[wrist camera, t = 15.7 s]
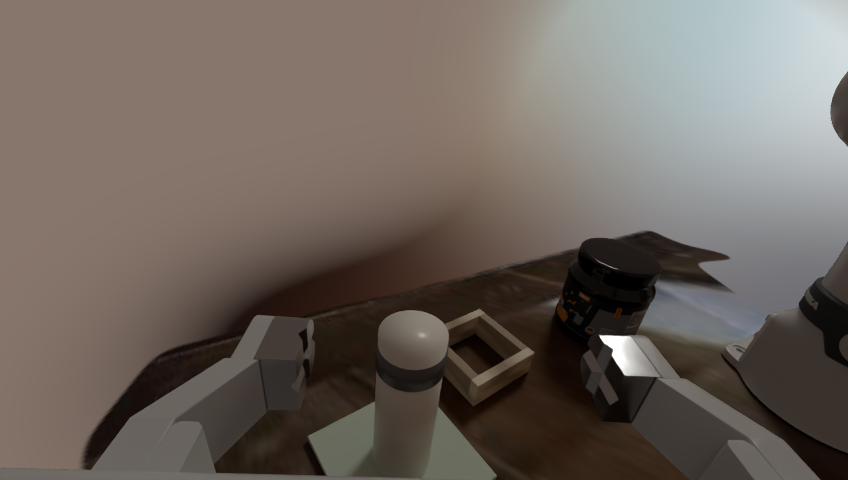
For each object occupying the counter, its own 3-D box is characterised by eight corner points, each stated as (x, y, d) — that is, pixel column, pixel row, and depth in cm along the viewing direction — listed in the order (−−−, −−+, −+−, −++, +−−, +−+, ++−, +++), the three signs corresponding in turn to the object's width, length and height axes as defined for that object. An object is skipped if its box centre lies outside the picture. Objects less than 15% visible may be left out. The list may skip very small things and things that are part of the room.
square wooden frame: (475, 326, 50) (479, 309, 49) (528, 371, 44) (534, 352, 43) (422, 351, 45) (424, 332, 44) (473, 406, 39) (478, 386, 37)
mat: (415, 384, 41) (415, 380, 40) (495, 479, 32) (496, 475, 32) (308, 440, 34) (307, 436, 33) (375, 579, 26) (375, 575, 25)
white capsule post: (408, 418, 36) (421, 301, 30) (442, 463, 33) (465, 341, 26) (360, 447, 33) (363, 324, 27) (392, 499, 30) (404, 372, 23)
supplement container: (557, 296, 59) (580, 228, 53) (630, 320, 55) (662, 249, 50) (547, 336, 50) (573, 259, 44) (632, 367, 46) (672, 288, 41)
